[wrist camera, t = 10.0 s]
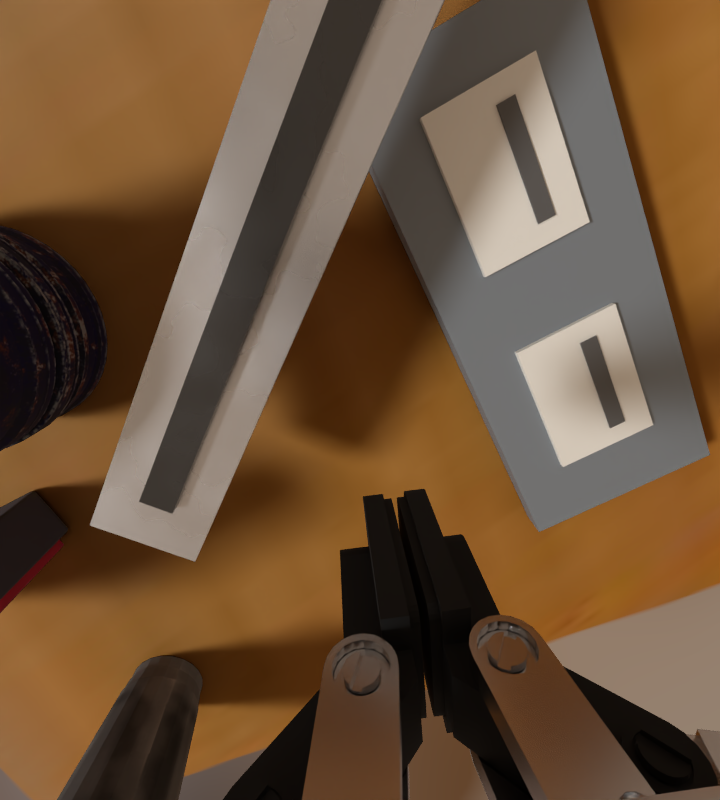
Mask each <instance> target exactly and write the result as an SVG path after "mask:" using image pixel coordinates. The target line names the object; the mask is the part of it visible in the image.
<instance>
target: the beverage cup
mask: <svg viewBox="0 0 720 800" xmlns="http://www.w3.org/2000/svg"><path fill="white" fill-rule="evenodd" d="M201 689H202V677H201V674H200V672H199V671H198V670H197V668H196V667H195V666H194V665H193V664H191V663H189V662H187V661H186V660H184V659H181V658H177V657H173V656H159V657H154V658H150V659H148V660H146V661H145V662H143V663H142V664H141V665H140V666H139V667H138V668H137V669H136V671H135V673H134V675H133V677H132V678H131V679H130V681H129V682H128V684H127V685H126V687H125V688H124V689H123V690H122V692H121V693H120V695H119V697H118V698H117V700H116V702H115V703H114V705H113V707H112V708H111V710H110V712H109V714H108V715H107V717H106V719H105V720H104V722H103V724H102V725H101V727H100V729H99V730H98V732H97V734H96V735H95V737H94V739H93V740H92V742H91V744H90V745H89V747H88V749H87V750H86V752H85V754H84V755H83V757H82V759H81V760H80V762H79V764H78V765H77V767H76V769H75V770H74V772H73V774H72V775H71V777H70V779H69V780H68V782H67V784H66V786H65V787H64V789H63V791H62V792H61V794H60V796H59V797H58V799H57V800H178V798H179V794H180V790H181V785H182V781H183V776H184V772H185V767H186V763H187V758H188V754H189V749H190V745H191V740H192V736H193V731H194V727H195V722H196V718H197V713H198V704H199V699H200V692H201Z"/></svg>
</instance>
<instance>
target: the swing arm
mask: <svg viewBox="0 0 720 800" xmlns="http://www.w3.org/2000/svg"><path fill="white" fill-rule="evenodd" d="M444 1H445V0H271V1H270V4H269V7H268V10H267V12H266V15H265V18H264V21H263V24H262V27H261V30H260V33H259V36H258V39H257V41H256V44H255V47H254V50H253V53H252V56H251V59H250V62H249V65H248V68H247V70H246V73H245V76H244V79H243V82H242V85H241V88H240V91H239V94H238V97H237V100H236V102H235V105H234V108H233V111H232V114H231V117H230V120H229V123H228V126H227V129H226V131H225V134H224V137H223V140H222V143H221V146H220V149H219V152H218V155H217V158H216V160H215V163H214V166H213V169H212V172H211V175H210V178H209V181H208V184H207V187H206V189H205V192H204V195H203V198H202V201H201V204H200V207H199V210H198V213H197V216H196V218H195V221H194V224H193V227H192V230H191V233H190V236H189V239H188V242H187V245H186V247H185V250H184V253H183V256H182V259H181V262H180V265H179V268H178V271H177V274H176V276H175V279H174V282H173V285H172V288H171V291H170V294H169V297H168V300H167V303H166V305H165V308H164V311H163V314H162V317H161V320H160V323H159V326H158V329H157V332H156V334H155V337H154V340H153V343H152V346H151V349H150V352H149V355H148V358H147V361H146V363H145V366H144V369H143V372H142V375H141V378H140V381H139V384H138V387H137V390H136V392H135V395H134V398H133V401H132V404H131V407H130V410H129V413H128V416H127V419H126V421H125V424H124V427H123V430H122V433H121V436H120V439H119V442H118V445H117V448H116V450H115V453H114V456H113V459H112V462H111V465H110V468H109V471H108V474H107V477H106V479H105V482H104V485H103V488H102V491H101V494H100V497H99V500H98V503H97V506H96V508H95V511H94V514H93V517H92V520H91V523H90V526H93V527H96V528H99V529H102V530H104V531H107V532H110V533H113V534H116V535H119V536H122V537H125V538H128V539H131V540H133V541H136V542H139V543H142V544H145V545H148V546H151V547H154V548H157V549H160V550H163V551H165V552H168V553H171V554H174V555H177V556H180V557H183V558H186V559H189V560H192V561H194V562H195V561H196V559H197V557H198V554H199V552H200V550H201V548H202V546H203V544H204V542H205V539H206V537H207V535H208V533H209V531H210V528H211V526H212V524H213V522H214V519H215V517H216V515H217V513H218V510H219V508H220V506H221V504H222V501H223V499H224V497H225V495H226V492H227V490H228V488H229V486H230V483H231V481H232V479H233V477H234V474H235V472H236V470H237V468H238V465H239V463H240V461H241V458H242V456H243V454H244V452H245V449H246V447H247V445H248V443H249V440H250V438H251V436H252V434H253V431H254V429H255V427H256V425H257V422H258V420H259V418H260V416H261V413H262V411H263V409H264V407H265V404H266V402H267V400H268V398H269V395H270V393H271V391H272V389H273V386H274V384H275V382H276V380H277V377H278V375H279V373H280V371H281V368H282V366H283V364H284V362H285V359H286V357H287V355H288V352H289V350H290V348H291V346H292V343H293V341H294V339H295V337H296V334H297V332H298V330H299V328H300V325H301V323H302V321H303V319H304V316H305V314H306V312H307V310H308V307H309V305H310V303H311V301H312V298H313V296H314V294H315V292H316V289H317V287H318V285H319V283H320V280H321V278H322V276H323V274H324V271H325V269H326V267H327V265H328V262H329V260H330V258H331V256H332V253H333V251H334V249H335V247H336V244H337V242H338V240H339V237H340V235H341V233H342V231H343V228H344V226H345V224H346V222H347V219H348V217H349V215H350V213H351V210H352V208H353V206H354V204H355V201H356V199H357V197H358V195H359V192H360V190H361V188H362V186H363V183H364V181H365V179H366V177H367V174H368V172H369V170H370V168H371V165H372V163H373V161H374V159H375V156H376V154H377V152H378V150H379V147H380V145H381V143H382V141H383V138H384V136H385V134H386V131H387V129H388V127H389V125H390V122H391V120H392V118H393V116H394V113H395V111H396V109H397V107H398V104H399V102H400V100H401V98H402V95H403V93H404V91H405V89H406V86H407V84H408V82H409V80H410V77H411V75H412V73H413V71H414V68H415V66H416V64H417V62H418V59H419V57H420V55H421V53H422V50H423V48H424V46H425V44H426V41H427V39H428V37H429V35H430V32H431V30H432V28H433V26H434V23H435V21H436V19H437V16H438V14H439V12H440V10H441V7H442V5H443V3H444Z"/></svg>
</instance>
